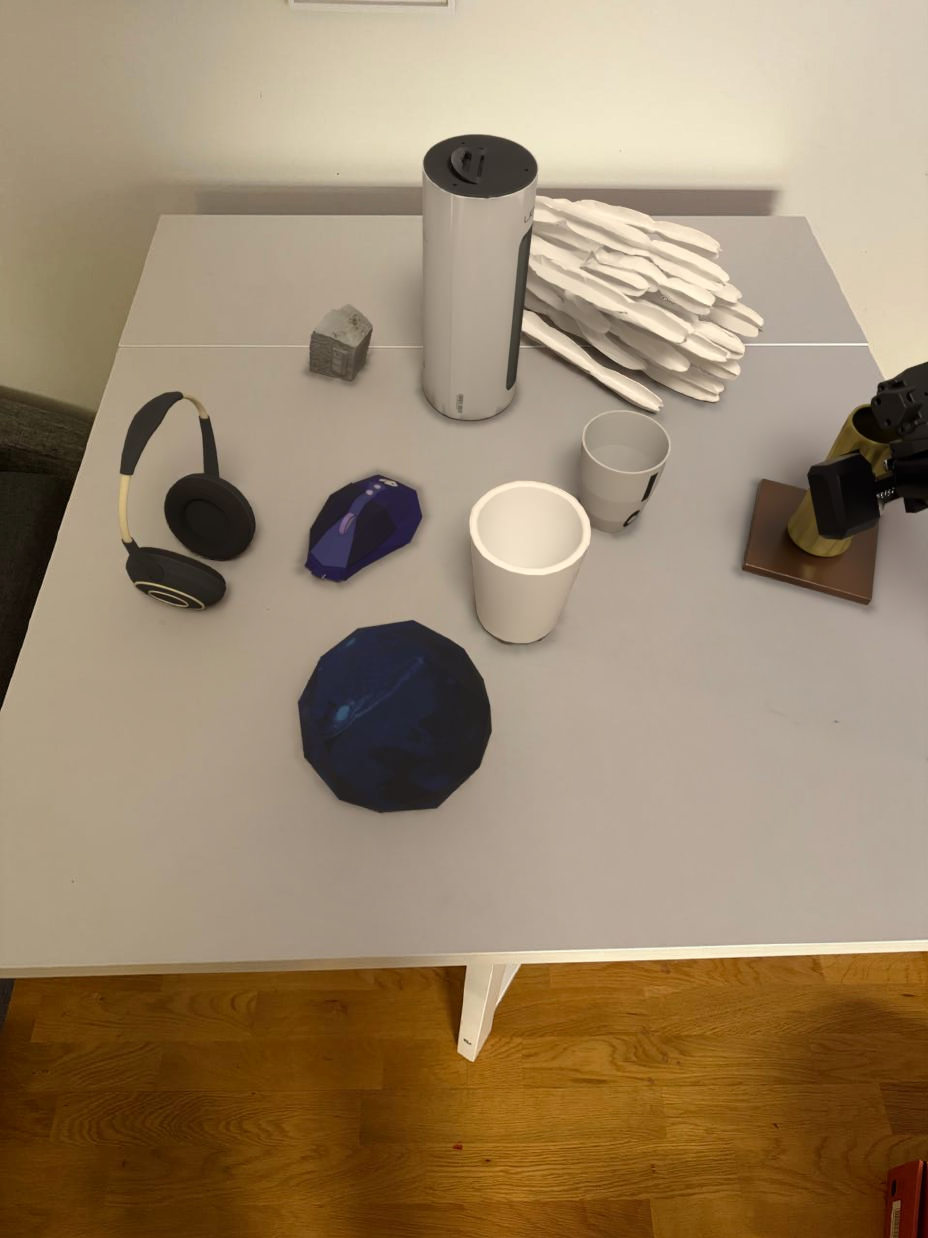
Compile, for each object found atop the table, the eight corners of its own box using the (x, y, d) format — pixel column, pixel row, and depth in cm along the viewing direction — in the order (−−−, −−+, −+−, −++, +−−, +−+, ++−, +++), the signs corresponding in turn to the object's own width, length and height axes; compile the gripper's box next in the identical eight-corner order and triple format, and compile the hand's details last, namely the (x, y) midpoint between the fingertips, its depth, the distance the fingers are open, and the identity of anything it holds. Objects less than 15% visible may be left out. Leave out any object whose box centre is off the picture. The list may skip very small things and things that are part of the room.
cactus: (412, 253, 94) (686, 398, 82) (504, 109, 93) (796, 234, 81) (463, 324, 110) (699, 454, 98) (542, 202, 109) (791, 318, 97)
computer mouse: (441, 500, 87) (442, 472, 84) (363, 605, 80) (360, 579, 77) (363, 466, 90) (360, 438, 86) (280, 565, 82) (274, 539, 79)
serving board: (876, 515, 88) (880, 508, 87) (867, 605, 82) (872, 599, 81) (759, 484, 90) (762, 477, 89) (741, 570, 84) (744, 564, 83)
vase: (781, 546, 83) (838, 436, 72) (792, 502, 87) (849, 391, 75) (845, 565, 82) (914, 458, 71) (854, 521, 86) (921, 410, 74)
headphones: (125, 627, 78) (42, 472, 61) (194, 507, 86) (138, 341, 69) (214, 649, 77) (154, 497, 60) (276, 526, 85) (238, 362, 68)
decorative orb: (247, 810, 63) (361, 747, 53) (282, 637, 71) (385, 554, 61) (405, 858, 70) (532, 810, 60) (420, 696, 79) (533, 630, 69)
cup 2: (637, 554, 84) (659, 483, 76) (557, 530, 86) (571, 458, 77) (656, 496, 89) (679, 423, 80) (580, 474, 90) (595, 400, 82)
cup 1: (581, 652, 78) (605, 566, 67) (473, 666, 77) (480, 581, 66) (556, 565, 83) (575, 473, 73) (456, 577, 82) (460, 485, 72)
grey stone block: (295, 386, 95) (290, 316, 89) (330, 353, 101) (328, 285, 95) (356, 402, 93) (355, 331, 88) (388, 367, 100) (389, 299, 94)
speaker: (498, 433, 93) (519, 201, 71) (407, 409, 95) (401, 175, 73) (526, 371, 99) (553, 139, 77) (440, 349, 100) (443, 116, 78)
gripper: (1065, 328, 65) (901, 359, 80) (873, 395, 60) (735, 414, 75) (1083, 471, 68) (920, 476, 83) (900, 546, 63) (761, 537, 78)
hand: (837, 473), depth 79 cm, fingers closed on vase, 5 cm apart
